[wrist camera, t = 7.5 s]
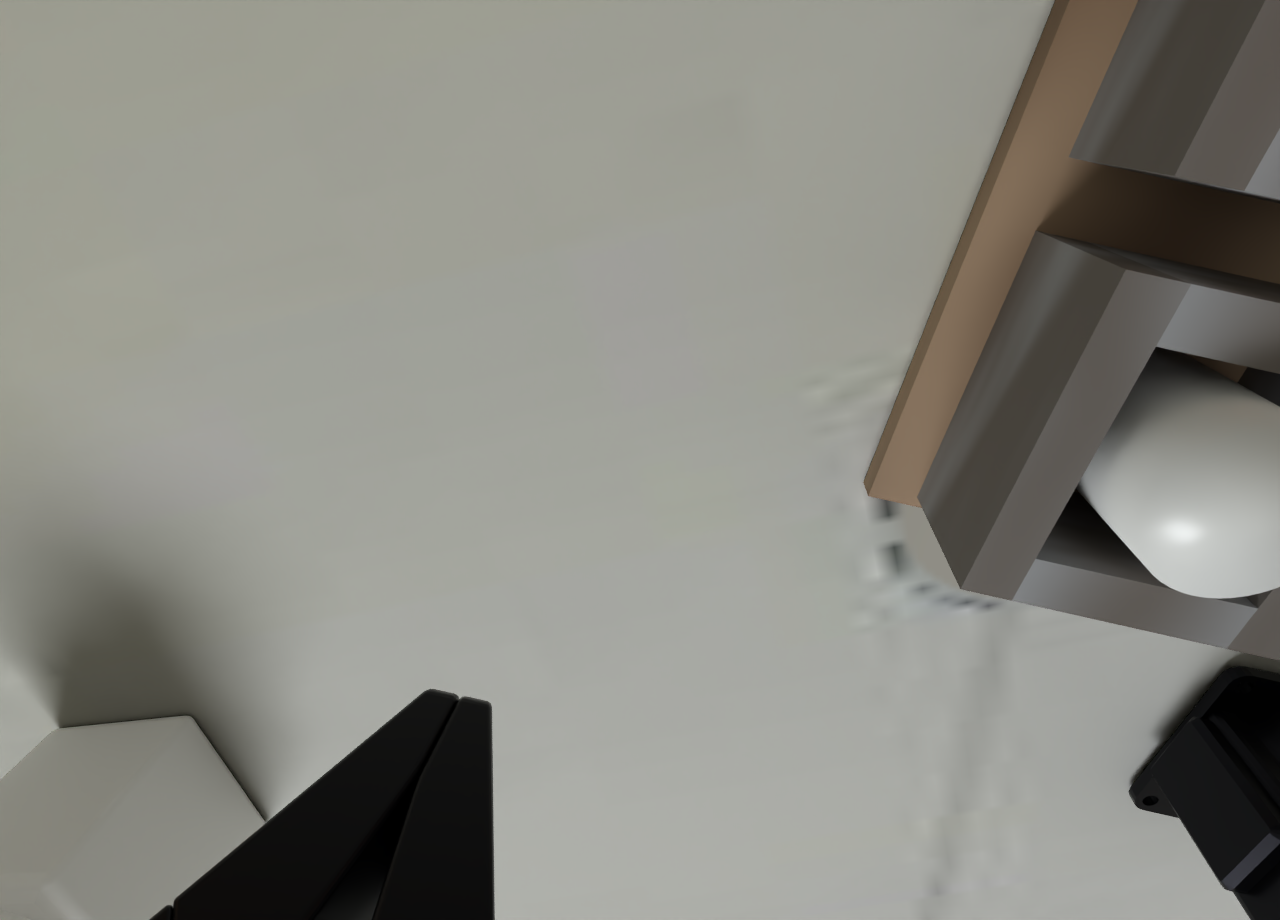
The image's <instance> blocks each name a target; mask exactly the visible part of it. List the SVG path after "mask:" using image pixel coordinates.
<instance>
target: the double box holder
mask: <svg viewBox="0 0 1280 920" xmlns="http://www.w3.org/2000/svg"><path fill="white" fill-rule="evenodd" d="M1155 347H1160V348H1165V349H1169V350H1174V351H1178V352H1183V353H1185V354H1187V355H1188V356H1190V357H1192V358H1194V359H1195V360H1197V361H1199V362H1201V363H1203V364H1204V365H1206V366H1208V367H1210V368H1212V369H1213V370H1215V371H1217V372H1219V373H1220V374H1222V375H1224V376H1226V377H1228V378H1229V379H1231V380H1233V381H1235V382H1236V383H1238V384H1240V385H1242V386H1244V387H1245V388H1247V389H1249V390H1251V391H1253V392H1254V393H1256V394H1258V395H1260V396H1261V397H1263V398H1265V399H1267V400H1269V401H1270V402H1272V403H1274V404H1276V405H1277V406H1279V407H1280V0H1055V3H1054V5H1053V8H1052V10H1051V13H1050V15H1049V18H1048V20H1047V23H1046V25H1045V28H1044V30H1043V33H1042V35H1041V38H1040V40H1039V43H1038V45H1037V48H1036V50H1035V53H1034V55H1033V58H1032V60H1031V63H1030V65H1029V68H1028V70H1027V73H1026V75H1025V78H1024V80H1023V83H1022V85H1021V88H1020V90H1019V93H1018V95H1017V98H1016V100H1015V103H1014V106H1013V108H1012V111H1011V113H1010V116H1009V118H1008V121H1007V123H1006V126H1005V128H1004V131H1003V133H1002V136H1001V138H1000V141H999V143H998V146H997V148H996V151H995V153H994V156H993V158H992V161H991V163H990V166H989V168H988V171H987V173H986V176H985V178H984V181H983V183H982V186H981V188H980V191H979V193H978V196H977V198H976V201H975V203H974V206H973V208H972V211H971V214H970V216H969V219H968V221H967V224H966V226H965V229H964V231H963V234H962V236H961V239H960V241H959V244H958V246H957V249H956V251H955V254H954V256H953V259H952V261H951V264H950V266H949V269H948V271H947V274H946V276H945V279H944V281H943V284H942V286H941V289H940V291H939V294H938V296H937V299H936V301H935V304H934V306H933V309H932V311H931V314H930V316H929V319H928V322H927V324H926V327H925V329H924V332H923V334H922V337H921V339H920V342H919V344H918V347H917V349H916V352H915V354H914V357H913V359H912V362H911V364H910V367H909V369H908V372H907V374H906V377H905V379H904V382H903V384H902V387H901V389H900V392H899V394H898V397H897V399H896V402H895V404H894V407H893V409H892V412H891V414H890V417H889V419H888V422H887V425H886V427H885V430H884V432H883V435H882V437H881V440H880V442H879V445H878V447H877V450H876V452H875V455H874V457H873V460H872V462H871V465H870V467H869V470H868V472H867V475H866V477H865V480H864V485H865V488H866V491H867V494H868V496H871V497H875V498H880V499H884V500H889V501H893V502H898V503H902V504H907V505H911V506H916V507H920V508H923V511H924V513H925V515H926V517H927V519H928V521H929V523H930V526H931V528H932V530H933V532H934V534H935V536H936V538H937V540H938V542H939V544H940V547H941V549H942V551H943V553H944V555H945V557H946V559H947V561H948V564H949V566H950V568H951V570H952V572H953V574H954V576H955V578H956V580H957V583H958V585H959V587H960V589H963V590H967V591H972V592H976V593H980V594H985V595H989V596H994V597H998V598H1003V599H1007V600H1012V601H1016V602H1020V603H1025V604H1029V605H1034V606H1038V607H1043V608H1047V609H1052V610H1056V611H1061V612H1065V613H1069V614H1074V615H1078V616H1083V617H1087V618H1092V619H1096V620H1101V621H1105V622H1109V623H1114V624H1118V625H1123V626H1127V627H1132V628H1136V629H1141V630H1145V631H1150V632H1154V633H1158V634H1163V635H1167V636H1172V637H1176V638H1181V639H1185V640H1190V641H1194V642H1199V643H1203V644H1207V645H1212V646H1216V647H1221V648H1225V649H1230V650H1234V651H1239V652H1243V653H1247V654H1252V655H1256V656H1261V657H1265V658H1270V659H1274V660H1279V659H1280V587H1278V588H1276V589H1273V590H1269V591H1266V592H1263V593H1259V594H1254V595H1250V596H1244V597H1236V598H1219V599H1218V598H1204V597H1198V596H1192V595H1189V594H1185V593H1182V592H1179V591H1177V590H1174V589H1172V588H1170V587H1168V586H1167V585H1165V584H1163V583H1162V582H1160V581H1159V580H1158V579H1157V578H1155V577H1154V576H1153V575H1152V574H1151V573H1150V571H1149V570H1148V569H1147V568H1146V567H1145V566H1144V565H1143V564H1142V562H1141V561H1140V560H1139V559H1138V558H1137V557H1136V556H1135V555H1134V553H1133V552H1132V551H1131V550H1130V549H1129V548H1128V547H1127V546H1126V544H1125V543H1124V542H1123V541H1122V540H1121V539H1120V538H1119V537H1118V535H1117V534H1116V533H1115V532H1114V531H1113V530H1112V529H1111V528H1110V526H1109V525H1108V524H1107V523H1106V522H1105V521H1104V520H1103V519H1102V517H1101V516H1100V515H1099V514H1098V513H1097V512H1096V511H1095V510H1094V508H1093V507H1092V506H1091V505H1090V504H1089V503H1088V502H1087V501H1086V499H1085V498H1084V497H1083V496H1082V495H1081V494H1080V493H1079V492H1078V490H1077V489H1076V487H1077V485H1078V483H1079V481H1080V480H1081V478H1082V476H1083V474H1084V473H1085V471H1086V469H1087V467H1088V466H1089V464H1090V462H1091V460H1092V458H1093V457H1094V455H1095V453H1096V451H1097V450H1098V448H1099V446H1100V444H1101V443H1102V441H1103V439H1104V437H1105V436H1106V434H1107V432H1108V430H1109V429H1110V427H1111V425H1112V423H1113V421H1114V420H1115V418H1116V416H1117V414H1118V413H1119V411H1120V409H1121V407H1122V406H1123V404H1124V402H1125V400H1126V399H1127V397H1128V395H1129V393H1130V392H1131V390H1132V388H1133V386H1134V384H1135V383H1136V381H1137V379H1138V377H1139V376H1140V374H1141V372H1142V370H1143V369H1144V367H1145V365H1146V363H1147V362H1148V360H1149V358H1150V356H1151V354H1152V353H1153V351H1154V349H1155Z"/></svg>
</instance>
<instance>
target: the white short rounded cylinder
mask: <svg viewBox="0 0 1280 920" xmlns="http://www.w3.org/2000/svg"><path fill="white" fill-rule="evenodd" d="M1076 489H1077V490H1078V492H1079V493H1080V494H1081V495H1082V496H1083V497H1084V498H1085V499H1086V501H1087V502H1088V503H1089V504H1090V505H1091V506H1092V507H1093V508H1094V510H1095V511H1096V512H1097V513H1098V514H1099V515H1100V516H1101V517H1102V519H1103V520H1104V521H1105V522H1106V523H1107V524H1108V525H1109V526H1110V528H1111V529H1112V530H1113V531H1114V532H1115V533H1116V534H1117V535H1118V537H1119V538H1120V539H1121V540H1122V541H1123V542H1124V543H1125V544H1126V546H1127V547H1128V548H1129V549H1130V550H1131V551H1132V552H1133V553H1134V555H1135V556H1136V557H1137V558H1138V559H1139V560H1140V561H1141V562H1142V564H1143V565H1144V566H1145V567H1146V568H1147V569H1148V570H1149V571H1150V573H1151V574H1152V575H1153V576H1154V577H1155V578H1157V579H1158V580H1159V581H1160V582H1162V583H1163V584H1165V585H1167V586H1168V587H1170V588H1172V589H1174V590H1177V591H1179V592H1182V593H1185V594H1189V595H1192V596H1198V597H1204V598H1218V599H1219V598H1236V597H1244V596H1250V595H1254V594H1259V593H1263V592H1266V591H1269V590H1273V589H1276V588H1278V587H1280V407H1279V406H1277V405H1276V404H1274V403H1272V402H1270V401H1269V400H1267V399H1265V398H1263V397H1261V396H1260V395H1258V394H1256V393H1254V392H1253V391H1251V390H1249V389H1247V388H1245V387H1244V386H1242V385H1240V384H1238V383H1236V382H1235V381H1233V380H1231V379H1229V378H1228V377H1226V376H1224V375H1222V374H1220V373H1219V372H1217V371H1215V370H1213V369H1212V368H1210V367H1208V366H1206V365H1204V364H1203V363H1201V362H1199V361H1197V360H1195V359H1194V358H1192V357H1190V356H1188V355H1187V354H1185V353H1183V352H1178V351H1174V350H1169V349H1165V348H1160V347H1155V349H1154V351H1153V353H1152V354H1151V356H1150V358H1149V360H1148V362H1147V363H1146V365H1145V367H1144V369H1143V370H1142V372H1141V374H1140V376H1139V377H1138V379H1137V381H1136V383H1135V384H1134V386H1133V388H1132V390H1131V392H1130V393H1129V395H1128V397H1127V399H1126V400H1125V402H1124V404H1123V406H1122V407H1121V409H1120V411H1119V413H1118V414H1117V416H1116V418H1115V420H1114V421H1113V423H1112V425H1111V427H1110V429H1109V430H1108V432H1107V434H1106V436H1105V437H1104V439H1103V441H1102V443H1101V444H1100V446H1099V448H1098V450H1097V451H1096V453H1095V455H1094V457H1093V458H1092V460H1091V462H1090V464H1089V466H1088V467H1087V469H1086V471H1085V473H1084V474H1083V476H1082V478H1081V480H1080V481H1079V483H1078V485H1077V487H1076Z"/></svg>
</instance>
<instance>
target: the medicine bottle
mask: <svg viewBox="0 0 1280 920" xmlns="http://www.w3.org/2000/svg"><path fill="white" fill-rule="evenodd" d="M264 824H265V821H264V819H263V818H262V817H261V815H260V814H259V812H258V811H257V809H256V808H255V807H254V805H253V804H252V802H251V801H250V799H249V798H248V796H247V795H246V794H245V792H244V791H243V789H242V788H241V786H240V785H239V784H238V782H237V781H236V779H235V778H234V776H233V775H232V773H231V772H230V771H229V769H228V768H227V766H226V765H225V763H224V762H223V761H222V759H221V758H220V756H219V755H218V753H217V752H216V750H215V749H214V748H213V746H212V745H211V743H210V742H209V740H208V739H207V738H206V736H205V735H204V733H203V732H202V730H201V729H200V727H199V726H198V725H197V723H196V722H195V720H194V719H193V718H192V717H191V716H176V717H167V718H157V719H147V720H137V721H127V722H118V723H108V724H98V725H88V726H78V727H68V728H59V729H56V730H54V731H53V732H51V733H50V734H49V735H48V736H47V737H46V738H45V739H43V740H42V741H41V742H40V743H39V744H38V745H37V746H36V747H35V748H34V749H33V750H32V751H31V752H30V753H29V754H27V755H26V756H25V757H24V758H23V759H22V760H21V761H20V762H19V763H18V764H17V765H16V766H15V767H14V768H13V769H12V770H10V771H9V772H8V773H7V774H6V775H5V776H4V777H3V778H2V779H1V780H0V920H149V919H150V918H152V917H153V916H154V915H155V914H156V913H158V912H159V911H160V910H161V909H162V908H164V907H165V906H166V905H172V906H173V902H174V900H175V898H176V897H177V896H179V895H180V894H181V893H182V892H183V891H185V890H186V889H187V888H188V887H189V886H191V885H192V884H193V883H194V882H195V881H197V880H198V879H199V878H200V877H201V876H203V875H204V874H205V873H206V872H208V871H209V870H210V869H211V868H212V867H214V866H215V865H216V864H217V863H218V862H220V861H221V860H222V859H223V858H224V857H226V856H227V855H228V854H229V853H230V852H232V851H233V850H234V849H235V848H236V847H238V846H239V845H240V844H241V843H242V842H244V841H245V840H246V839H247V838H248V837H250V836H251V835H252V834H253V833H254V832H256V831H257V830H258V829H259V828H261V827H262V826H263V825H264Z"/></svg>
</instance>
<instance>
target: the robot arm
mask: <svg viewBox="0 0 1280 920" xmlns="http://www.w3.org/2000/svg"><path fill="white" fill-rule="evenodd" d="M1129 795H1130V797H1131V798H1132V800H1133V802H1134V804H1135V805H1136V806H1137V807H1138V808H1140V809H1142V810H1146V811H1150V812H1155V813H1159V814H1164V815H1168V816H1173V817H1177V818H1179V819H1180V820H1181V822H1182V823H1183V825H1184V827H1185V828H1186V830H1187V831H1188V833H1189V835H1190V836H1191V838H1192V839H1193V841H1194V843H1195V844H1196V846H1197V847H1198V849H1199V851H1200V852H1201V854H1202V855H1203V857H1204V858H1205V860H1206V862H1207V863H1208V865H1209V866H1210V868H1211V870H1212V871H1213V873H1214V874H1215V876H1216V878H1217V879H1218V881H1219V882H1220V884H1221V885H1222V886H1223V888H1224V889H1226V890H1229V891H1233V893H1234V894H1235V896H1236V897H1237V899H1238V901H1239V902H1240V904H1241V905H1242V907H1243V908H1244V910H1245V912H1246V913H1247V915H1248V916H1249V918H1250V919H1251V920H1280V675H1279V674H1275V673H1271V672H1266V671H1262V670H1257V669H1253V668H1248V667H1240V666H1238V667H1233V668H1230V669H1228V670H1226V671H1224V672H1223V673H1222V674H1221V675H1220V676H1219V677H1218V679H1217V680H1216V681H1215V682H1214V684H1213V685H1212V686H1211V687H1210V689H1209V690H1208V691H1207V692H1206V694H1205V695H1204V696H1203V697H1202V699H1201V700H1200V701H1199V702H1198V704H1197V705H1196V706H1195V707H1194V709H1193V710H1192V711H1191V712H1190V714H1189V715H1188V716H1187V717H1186V719H1185V720H1184V721H1183V722H1182V724H1181V725H1180V726H1179V727H1178V729H1177V730H1176V731H1175V732H1174V734H1173V735H1172V736H1171V737H1170V739H1169V740H1168V741H1167V742H1166V744H1165V745H1164V746H1163V747H1162V749H1161V750H1160V751H1159V752H1158V754H1157V755H1156V756H1155V757H1154V759H1153V760H1152V761H1151V762H1150V764H1149V765H1148V766H1147V767H1146V769H1145V770H1144V771H1143V772H1142V774H1141V775H1140V776H1139V777H1138V779H1137V780H1136V781H1135V782H1134V784H1133V785H1132V786H1131V787H1130V790H1129ZM149 920H495V911H494V833H493V755H492V706H491V704H490V703H489V702H488V701H484V700H480V699H475V698H471V697H461V698H460V699H459V697H458V696H457V695H456V694H453V693H449V692H444V691H440V690H436V689H429V690H426V691H424V692H423V693H422V694H421V695H419V696H418V697H417V698H416V699H415V700H413V701H412V702H411V703H410V704H409V705H407V706H406V707H405V708H404V709H403V710H401V711H400V712H399V713H398V714H397V715H395V716H394V717H393V718H392V719H391V720H389V721H388V722H387V723H386V724H385V725H383V726H382V727H381V728H380V729H379V730H377V731H376V732H375V733H374V734H373V735H371V736H370V737H369V738H368V739H366V740H365V741H364V742H363V743H362V744H360V745H359V746H358V747H357V748H356V749H354V750H353V751H352V752H351V753H350V754H348V755H347V756H346V757H345V758H344V759H342V760H341V761H340V762H339V763H338V764H336V765H335V766H334V767H333V768H332V769H330V770H329V771H328V772H327V773H326V774H324V775H323V776H322V777H321V778H320V779H318V780H317V781H316V782H315V783H313V784H312V785H311V786H310V787H309V788H307V789H306V790H305V791H304V792H303V793H301V794H300V795H299V796H298V797H297V798H295V799H294V800H293V801H292V802H291V803H289V804H288V805H287V806H286V807H285V808H283V809H282V810H281V811H280V812H279V813H277V814H276V815H275V816H274V817H273V818H271V819H270V820H269V821H268V822H267V823H265V824H264V825H263V826H262V827H261V828H259V829H258V830H257V831H256V832H254V833H253V834H252V835H251V836H250V837H248V838H247V839H246V840H245V841H244V842H242V843H241V844H240V845H239V846H238V847H236V848H235V849H234V850H233V851H232V852H230V853H229V854H228V855H227V856H226V857H224V858H223V859H222V860H221V861H220V862H218V863H217V864H216V865H215V866H214V867H212V868H211V869H210V870H209V871H208V872H206V873H205V874H204V875H203V876H201V877H200V878H199V879H198V880H197V881H195V882H194V883H193V884H192V885H191V886H189V887H188V888H187V889H186V890H185V891H183V892H182V893H181V894H180V895H179V896H177V897H176V898H175V900H174V902H173V906H172V905H166V906H165V907H164V908H162V909H161V910H160V911H159V912H158V913H156V914H155V915H154V916H153V917H152V918H150V919H149Z"/></svg>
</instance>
